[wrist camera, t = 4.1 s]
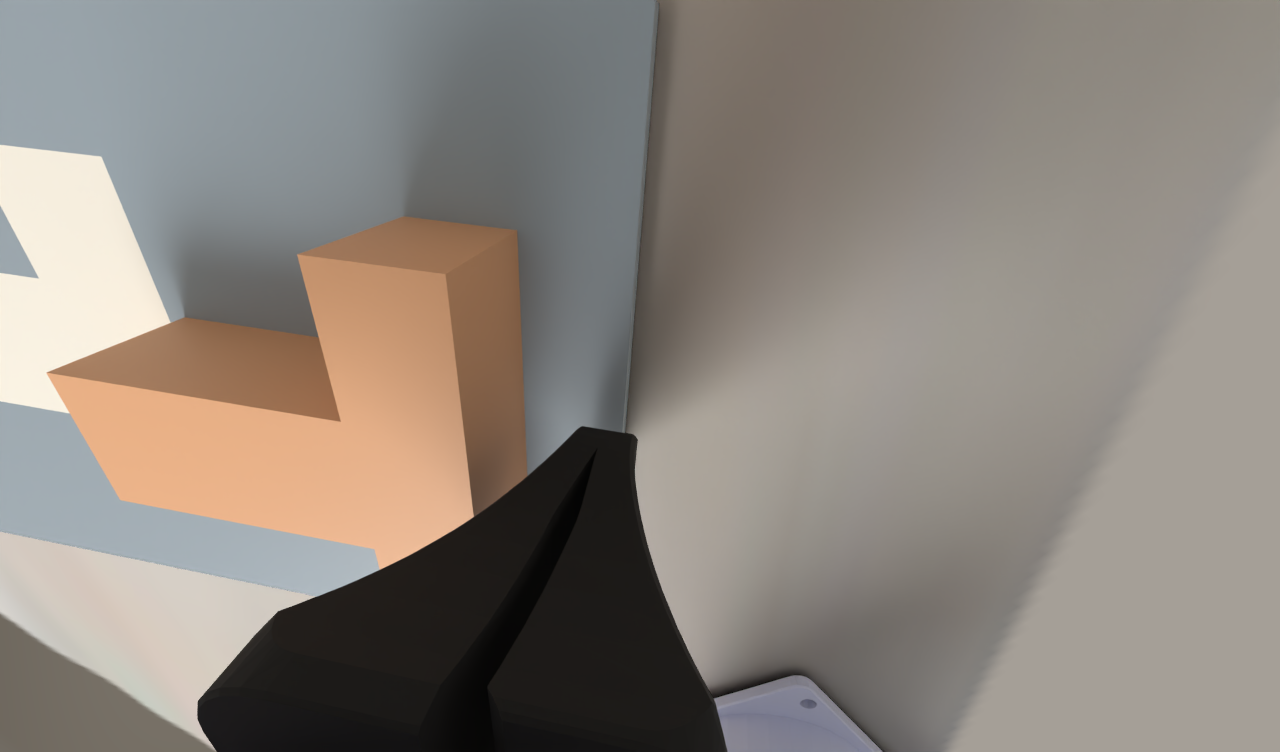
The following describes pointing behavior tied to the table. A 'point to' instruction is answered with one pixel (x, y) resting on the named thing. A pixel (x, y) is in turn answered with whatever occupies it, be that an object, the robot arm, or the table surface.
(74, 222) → the board
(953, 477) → the table surface
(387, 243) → the t block
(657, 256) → the table surface
